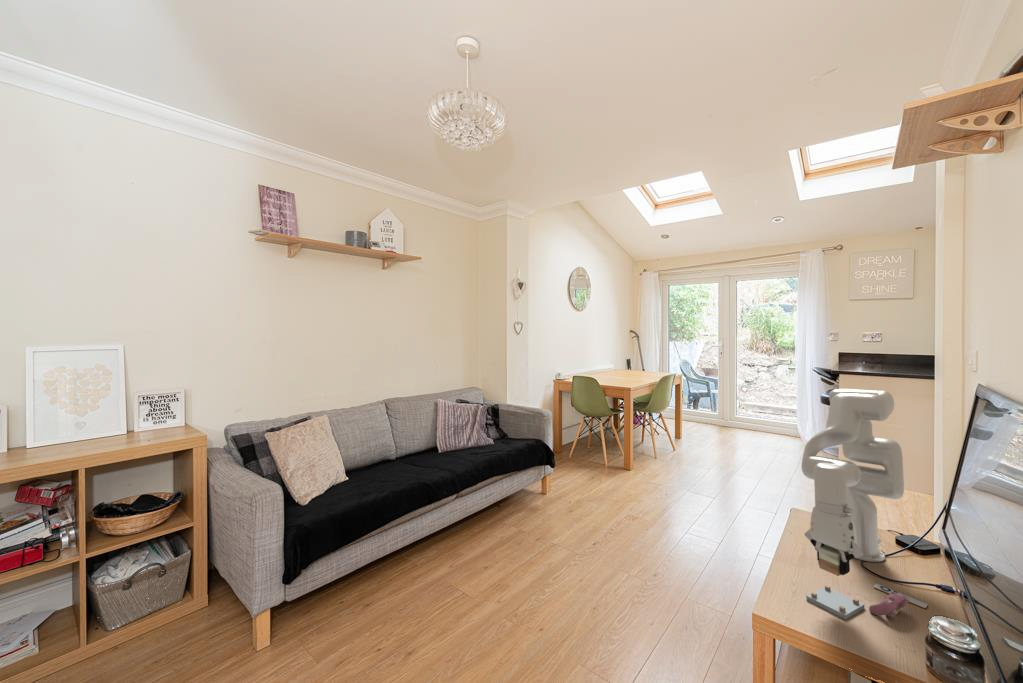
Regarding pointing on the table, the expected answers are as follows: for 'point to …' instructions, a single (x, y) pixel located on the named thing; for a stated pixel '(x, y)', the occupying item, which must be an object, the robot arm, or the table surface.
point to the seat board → (835, 602)
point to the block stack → (829, 559)
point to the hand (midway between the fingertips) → (833, 568)
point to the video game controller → (889, 605)
